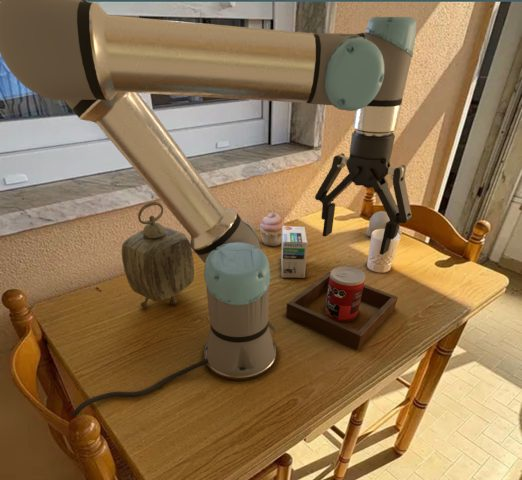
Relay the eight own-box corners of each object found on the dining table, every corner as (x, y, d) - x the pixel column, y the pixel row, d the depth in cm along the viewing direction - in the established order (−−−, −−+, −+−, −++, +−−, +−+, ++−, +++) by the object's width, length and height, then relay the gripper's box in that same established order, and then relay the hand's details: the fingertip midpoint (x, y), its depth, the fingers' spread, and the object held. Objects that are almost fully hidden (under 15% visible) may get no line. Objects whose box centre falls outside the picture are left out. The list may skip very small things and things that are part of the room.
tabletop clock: (175, 283, 104) (160, 189, 87) (200, 294, 100) (189, 198, 83) (134, 308, 95) (108, 209, 78) (159, 321, 91) (138, 219, 74)
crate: (357, 349, 84) (360, 335, 81) (286, 316, 93) (286, 303, 90) (394, 310, 95) (397, 296, 93) (327, 284, 104) (329, 271, 102)
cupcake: (253, 245, 121) (253, 215, 115) (264, 234, 128) (264, 204, 121) (281, 251, 119) (282, 219, 112) (290, 238, 125) (292, 208, 119)
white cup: (398, 269, 111) (407, 236, 104) (379, 276, 108) (387, 243, 101) (377, 258, 116) (385, 226, 109) (359, 265, 112) (365, 233, 106)
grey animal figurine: (390, 249, 120) (396, 223, 115) (361, 235, 128) (366, 210, 122) (404, 243, 124) (411, 217, 118) (376, 230, 131) (381, 205, 125)
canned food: (321, 305, 97) (326, 266, 89) (352, 303, 97) (359, 265, 90) (328, 323, 91) (335, 284, 84) (361, 321, 92) (370, 282, 84)
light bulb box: (305, 278, 106) (308, 242, 99) (281, 278, 106) (282, 242, 99) (302, 260, 114) (305, 225, 107) (280, 259, 115) (282, 225, 107)
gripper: (452, 137, 64) (417, 253, 78) (324, 118, 76) (314, 222, 90) (436, 146, 60) (402, 267, 74) (303, 125, 71) (296, 232, 85)
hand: (354, 242), depth 82 cm, fingers open, 13 cm apart
